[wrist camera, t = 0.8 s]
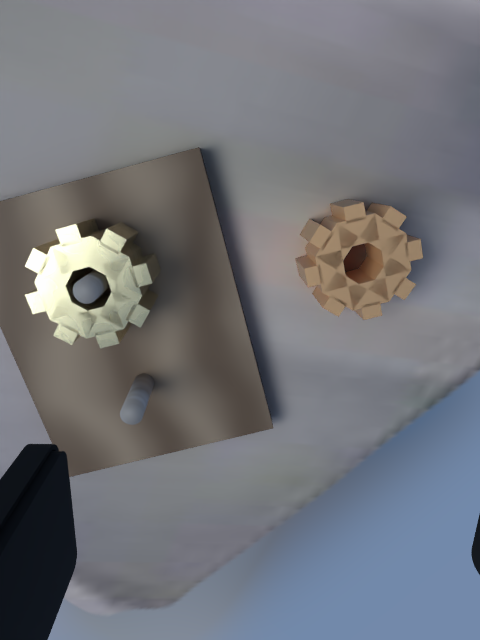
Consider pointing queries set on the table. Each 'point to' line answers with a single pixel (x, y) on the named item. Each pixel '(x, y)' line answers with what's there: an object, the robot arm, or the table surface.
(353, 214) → the tan gear
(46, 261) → the green gear
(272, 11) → the table surface
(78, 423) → the gear board
